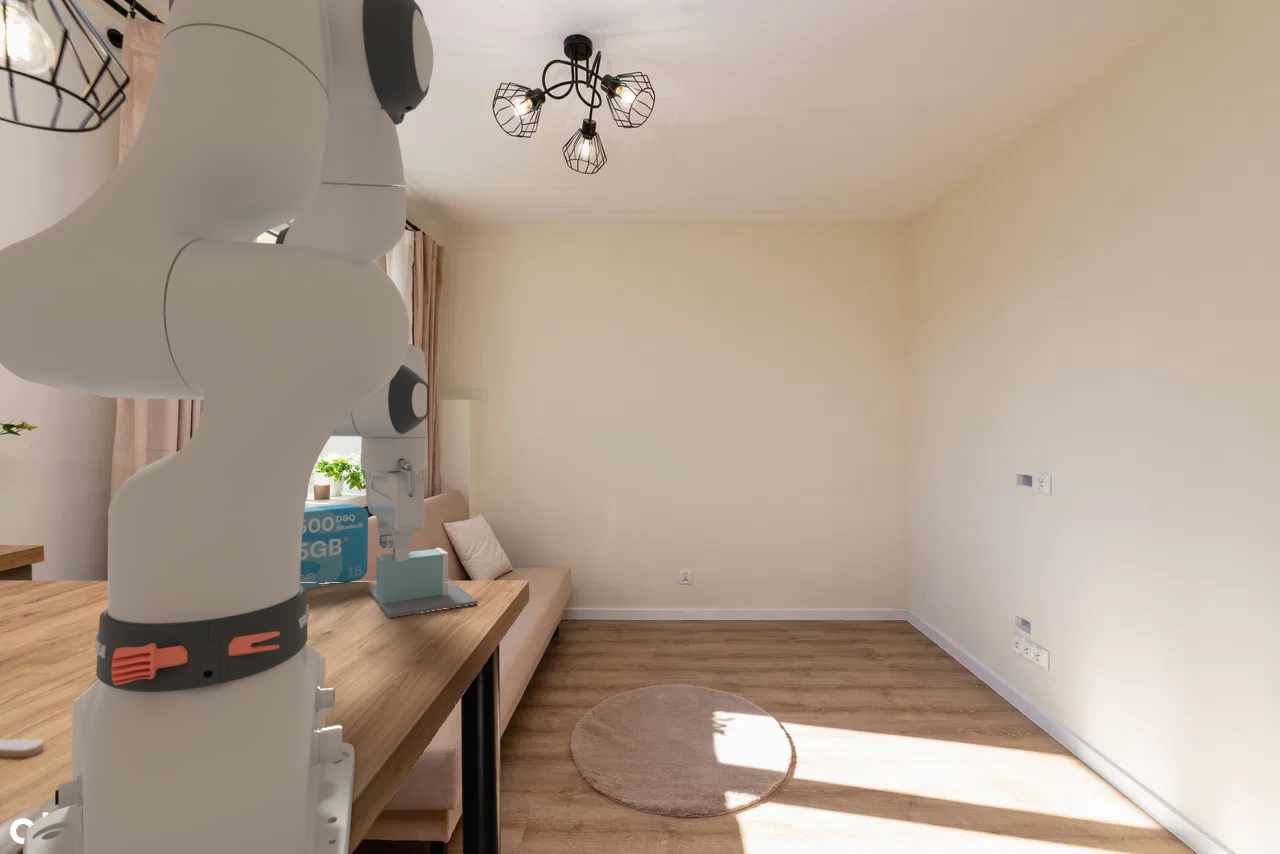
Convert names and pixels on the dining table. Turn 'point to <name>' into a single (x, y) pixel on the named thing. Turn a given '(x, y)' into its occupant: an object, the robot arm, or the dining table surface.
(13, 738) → the dining table surface
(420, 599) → the felt mat
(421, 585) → the tea tin
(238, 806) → the robot arm
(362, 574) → the data package
